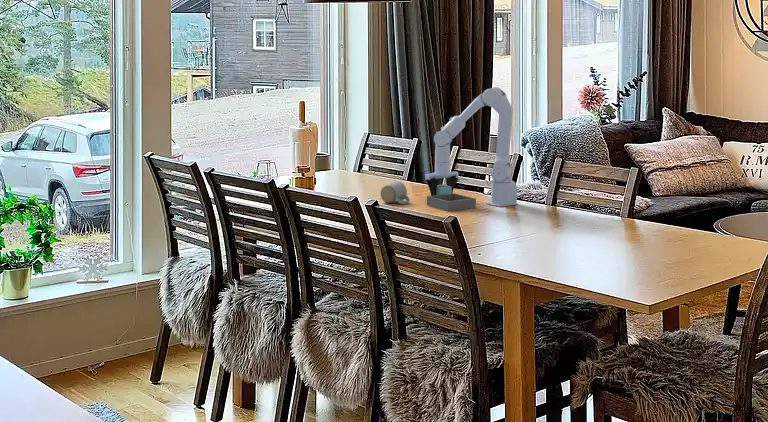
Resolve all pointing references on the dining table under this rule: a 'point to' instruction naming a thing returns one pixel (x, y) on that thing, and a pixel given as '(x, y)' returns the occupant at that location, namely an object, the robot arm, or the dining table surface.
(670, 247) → the dining table surface
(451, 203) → the big crate
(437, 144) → the robot arm
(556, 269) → the dining table surface
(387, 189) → the ceramic mug
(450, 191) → the small crate
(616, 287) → the dining table surface
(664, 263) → the dining table surface
